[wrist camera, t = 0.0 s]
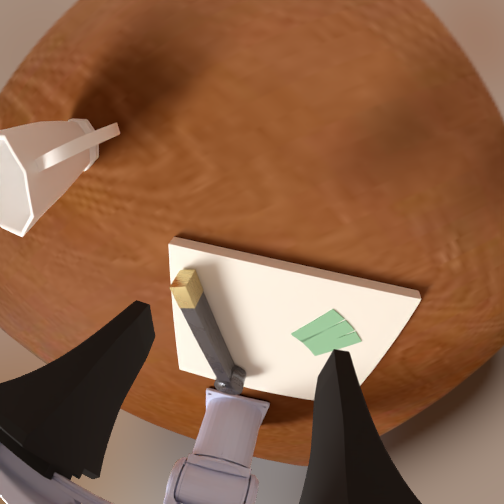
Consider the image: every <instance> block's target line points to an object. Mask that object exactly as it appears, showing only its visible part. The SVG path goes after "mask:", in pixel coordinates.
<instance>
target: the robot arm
mask: <svg viewBox="0 0 504 504" xmlns="http://www.w3.org/2000/svg"><path fill="white" fill-rule="evenodd" d="M154 338H155V332H154V327H153V321H152V316H151V310H150V304H146V303H143V302H140V301H137V300H136V301H135V302H133V303H132V304H131V305H130V306H128V307H127V308H126V309H125V310H123V311H122V312H121V313H120V314H119V315H117V316H116V317H115V318H114V319H113V320H111V321H110V322H109V323H108V324H106V325H105V326H104V327H102V328H101V329H100V330H99V331H97V332H96V333H95V334H94V335H92V336H91V337H89V338H88V339H87V340H85V341H84V342H82V343H81V344H80V345H78V346H77V347H75V348H74V349H72V350H71V351H69V352H68V353H66V354H65V355H63V356H61V357H60V358H58V359H56V360H54V361H53V362H51V363H49V364H47V365H45V366H43V367H41V368H39V369H37V370H35V371H33V372H30V373H28V374H25V375H23V376H21V377H18V378H16V379H13V380H9V381H6V382H3V383H0V497H2V499H3V500H4V501H5V502H6V503H7V504H81V503H82V504H113V503H111V502H109V501H107V500H105V499H103V498H101V497H99V496H97V495H95V494H93V493H91V492H90V491H88V490H86V489H84V488H82V487H81V486H79V485H77V484H75V483H74V482H72V481H70V480H71V477H72V475H73V476H75V477H76V478H78V479H79V478H80V477H81V475H82V474H84V475H85V476H87V477H89V478H91V479H95V478H99V477H100V472H101V467H102V463H103V458H104V455H105V451H106V448H107V444H108V441H109V438H110V435H111V432H112V429H113V426H114V423H115V420H116V418H117V415H118V412H119V410H120V407H121V405H122V403H123V401H124V399H125V397H126V395H127V393H128V391H129V389H130V388H131V386H132V384H133V382H134V380H135V378H136V377H137V375H138V373H139V371H140V369H141V368H142V366H143V364H144V362H145V360H146V358H147V356H148V354H149V351H150V349H151V346H152V344H153V341H154ZM269 405H270V403H269V402H266V401H261V400H256V399H252V398H247V397H243V396H239V395H229V394H225V393H223V392H220V391H219V390H215V389H212V388H207V390H206V413H205V416H204V419H203V422H202V425H201V428H200V431H199V434H198V437H197V440H196V443H195V446H194V449H193V452H192V454H189V455H188V458H184V457H183V458H181V459H179V460H177V461H176V463H175V464H174V466H173V468H172V471H171V473H170V476H169V479H168V483H167V487H166V495H165V498H164V501H163V504H181V503H183V504H255V500H256V496H257V491H258V484H259V481H258V479H257V478H256V476H255V475H250V474H251V470H252V469H250V465H251V461H252V457H253V453H254V448H255V444H256V440H257V435H258V431H259V427H260V425H261V423H262V421H263V419H264V417H265V414H266V412H267V410H268V408H269ZM299 504H422V503H421V502H420V501H419V500H418V499H417V497H416V496H415V495H414V493H413V492H412V491H411V489H410V488H409V487H408V485H407V484H406V482H405V481H404V480H403V478H402V476H401V475H400V473H399V471H398V470H397V468H396V466H395V465H394V463H393V462H392V460H391V458H390V456H389V454H388V452H387V451H386V449H385V447H384V445H383V443H382V441H381V439H380V436H379V434H378V432H377V430H376V427H375V425H374V423H373V420H372V418H371V415H370V413H369V410H368V407H367V405H366V402H365V399H364V396H363V393H362V390H361V388H360V384H359V381H358V378H357V375H356V372H355V368H354V365H353V362H352V358H351V355H350V353H349V351H343V350H337V349H333V351H332V353H331V355H330V356H329V358H328V360H327V362H326V363H325V365H324V367H323V369H322V370H321V372H320V374H319V375H318V378H317V384H316V390H315V397H314V409H313V427H312V443H311V453H310V460H309V465H308V470H307V474H306V479H305V483H304V487H303V491H302V495H301V499H300V502H299Z"/></svg>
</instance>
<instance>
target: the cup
mask: <svg viewBox="0 0 504 504" xmlns="http://www.w3.org/2000/svg"><path fill="white" fill-rule="evenodd" d="M119 134H120V131H119V127H118V124H117V123H114V124H111V125H108V126H106V127H103V128H100V129H98V130H94V128H93V127H92V125H91V124H90V122H89V121H88V120H87V119H74V118H72V119H69V120H68V121H46V122H36V123H31V124H26V125H22V126H17V127H13V128H8V129H4V130H0V227H1V228H3V229H5V230H8V231H10V232H12V233H14V234H16V235H18V236H21V237H23V236H24V235H25V234H26V233H27V232H28V230H29V229H30V228H31V227H32V226H33V225H34V224H35V223H36V222H37V220H38V219H39V218H40V217H41V216H42V215H43V214H44V213H45V212H46V211H47V210H48V209H49V208H50V207H51V206H52V205H53V204H54V203H55V202H56V201H57V200H58V199H59V198H60V197H61V196H62V195H63V194H64V193H65V192H66V191H67V189H68V188H69V187H70V186H71V185H72V184H73V182H74V181H75V180H76V179H77V178H78V177H79V175H80V174H81V173H82V172H83V171H86V170H88V169H89V168H90V167H91V165H92V164H93V163H94V162H95V161H96V160H97V159H98V157H99V143H102V142H104V141H106V140H108V139H111V138H113V137H115V136H117V135H119Z"/></svg>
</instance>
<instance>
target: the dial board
mask: <svg viewBox="0 0 504 504" xmlns="http://www.w3.org/2000/svg"><path fill="white" fill-rule="evenodd" d="M169 262H170V279H171V284H172V282H173V281H174V279H175V277H176V276H177V274H178V272H179V271H180V270H190V269H195V270H196V272H197V275H198V277H199V280H200V282H201V285H202V287H203V290H204V294H205V296H206V299H207V301H208V303H209V306H210V308H211V311H212V313H213V315H214V318H215V320H216V323H217V325H218V327H219V330H220V332H221V334H222V337H223V339H224V341H225V343H226V346H227V348H228V350H229V352H230V355H231V357H232V359H233V361H234V364H235V365H236V366H239V367H241V368H242V369H244V370H245V372H246V378H245V382H244V386H243V387H247V388H251V389H255V390H260V391H265V392H269V393H274V394H279V395H285V396H290V397H296V398H302V399H308V400H314V397H315V390H316V384H317V378H318V375H319V374H320V372H321V370H322V369H323V367H324V365H325V363H326V362H327V360H328V358H329V356H330V355H331V353H332V351H333V349H337V350H343V351H349V353H350V355H351V358H352V362H353V365H354V368H355V372H356V375H357V378H358V381H359V384H360V385H361V384H362V383H363V382H364V380H365V379H366V378H367V377H368V375H369V374H370V373H371V372H372V370H373V369H374V368H375V366H376V365H377V364H378V362H379V361H380V360H381V359H382V357H383V356H384V354H385V353H386V352H387V350H388V349H389V348H390V346H391V345H392V343H393V342H394V341H395V339H396V338H397V336H398V335H399V333H400V332H401V331H402V329H403V328H404V326H405V325H406V323H407V322H408V320H409V319H410V317H411V315H412V314H413V312H414V311H415V309H416V308H417V306H418V304H419V303H420V301H421V296H420V293H419V291H418V290H413V289H409V288H404V287H400V286H395V285H391V284H386V283H381V282H377V281H372V280H368V279H363V278H359V277H354V276H350V275H345V274H341V273H336V272H331V271H327V270H322V269H318V268H313V267H309V266H304V265H300V264H295V263H291V262H286V261H282V260H277V259H273V258H268V257H264V256H259V255H255V254H250V253H246V252H241V251H237V250H232V249H228V248H223V247H219V246H214V245H210V244H205V243H201V242H196V241H192V240H187V239H183V238H178V237H173V239H172V240H171V241H170V243H169ZM171 293H172V292H171ZM172 305H173V316H174V326H175V336H176V345H177V353H178V361H179V369H181V370H184V371H187V372H190V373H194V374H197V375H200V376H204V377H207V378H211V379H215V380H216V376H215V374H214V372H213V370H212V368H211V367H210V365H209V363H208V361H207V359H206V358H205V356H204V354H203V352H202V350H201V348H200V346H199V344H198V343H197V341H196V339H195V337H194V335H193V333H192V331H191V329H190V327H189V325H188V323H187V321H186V319H185V317H184V315H183V313H182V311H181V309H180V308H179V306H178V304H177V302H176V300H175V298H174V296H173V294H172Z"/></svg>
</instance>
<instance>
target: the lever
mask: <svg viewBox="0 0 504 504" xmlns="http://www.w3.org/2000/svg"><path fill="white" fill-rule="evenodd" d="M170 290H171V292H172V294H173V296H174V298H175V300H176V302H177V304H178V306H179V308H180V309H181V311H182V313H183V315H184V317H185V319H186V321H187V323H188V325H189V327H190V329H191V331H192V333H193V335H194V337H195V339H196V341H197V343H198V344H199V346H200V348H201V350H202V352H203V354H204V356H205V358H206V359H207V361H208V363H209V365H210V367H211V368H212V370H213V372H214V374H215V376H216V380H215V383H214V386H215V388H216V389H217V390H219V391H220V392H223V393H225V394H229V395H238V394H241V393H242V390H243V386H244V382H245V378H246V372H245V370H244V369H242V368H241V367H239V366H236V365H235V364H234V361H233V359H232V357H231V355H230V352H229V350H228V348H227V346H226V343H225V341H224V339H223V337H222V334H221V332H220V330H219V327H218V325H217V323H216V320H215V318H214V315H213V313H212V311H211V308H210V306H209V303H208V301H207V299H206V296H205V294H204V290H203V287H202V285H201V282H200V280H199V277H198V275H197V272H196V270H195V269H190V270H180V271H179V272H178V274H177V276H176V277H175V279H174V281H173V282H172V284H171V285H170Z"/></svg>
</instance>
